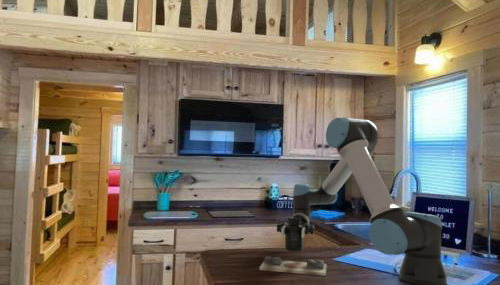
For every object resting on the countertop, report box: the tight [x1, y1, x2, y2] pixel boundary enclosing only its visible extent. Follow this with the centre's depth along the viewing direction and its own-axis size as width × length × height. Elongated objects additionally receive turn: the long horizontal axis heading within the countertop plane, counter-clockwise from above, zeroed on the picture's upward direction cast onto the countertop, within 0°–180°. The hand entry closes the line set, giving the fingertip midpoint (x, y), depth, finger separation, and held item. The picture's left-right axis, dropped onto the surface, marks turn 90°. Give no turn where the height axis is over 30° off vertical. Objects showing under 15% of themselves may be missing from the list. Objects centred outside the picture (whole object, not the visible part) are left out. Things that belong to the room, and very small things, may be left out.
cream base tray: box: [258, 255, 328, 277], centre depth 148 cm, size 24×12×3 cm, turn 77°
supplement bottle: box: [284, 216, 304, 252], centre depth 149 cm, size 7×7×12 cm
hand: (292, 233), depth 144 cm, fingers closed on supplement bottle, 7 cm apart
